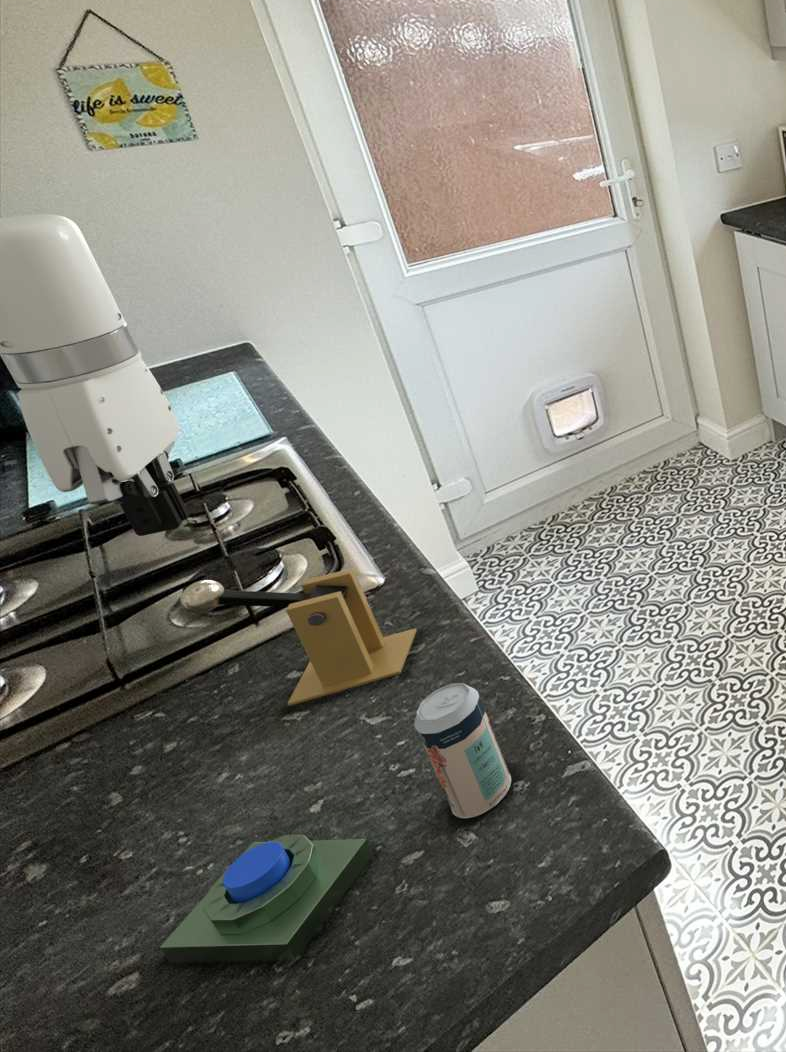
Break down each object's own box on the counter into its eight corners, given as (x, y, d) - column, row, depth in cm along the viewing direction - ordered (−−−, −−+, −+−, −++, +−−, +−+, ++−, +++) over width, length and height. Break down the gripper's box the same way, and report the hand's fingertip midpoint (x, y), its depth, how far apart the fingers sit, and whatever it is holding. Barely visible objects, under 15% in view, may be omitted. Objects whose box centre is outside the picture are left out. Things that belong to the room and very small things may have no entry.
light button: (218, 903, 61) (209, 888, 60) (259, 856, 64) (251, 841, 64) (263, 902, 61) (254, 887, 60) (302, 854, 64) (294, 840, 64)
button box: (171, 965, 60) (148, 932, 59) (262, 859, 68) (244, 827, 66) (297, 961, 60) (277, 929, 59) (375, 855, 68) (359, 824, 66)
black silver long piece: (170, 619, 77) (175, 592, 76) (187, 599, 80) (191, 572, 79) (334, 624, 83) (340, 599, 82) (345, 605, 86) (350, 580, 85)
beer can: (462, 782, 74) (422, 687, 69) (518, 766, 75) (482, 672, 71) (445, 829, 69) (401, 732, 65) (505, 812, 71) (466, 715, 66)
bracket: (291, 712, 82) (246, 625, 78) (315, 664, 88) (276, 581, 84) (403, 679, 86) (366, 594, 81) (419, 635, 92) (386, 554, 88)
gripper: (73, 333, 74) (158, 495, 81) (-52, 401, 61) (61, 588, 68) (175, 318, 77) (248, 476, 83) (75, 381, 63) (171, 563, 70)
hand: (164, 526), depth 75 cm, fingers closed
